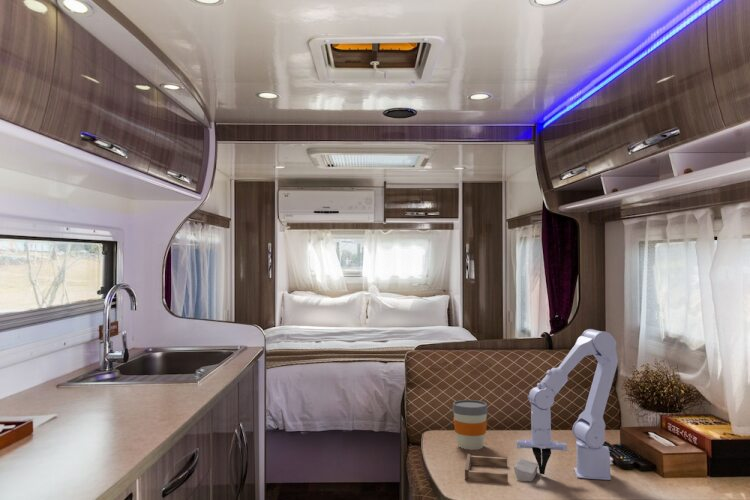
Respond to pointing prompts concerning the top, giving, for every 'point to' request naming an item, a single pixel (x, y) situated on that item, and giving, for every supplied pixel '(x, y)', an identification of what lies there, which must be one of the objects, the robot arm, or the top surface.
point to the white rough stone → (525, 470)
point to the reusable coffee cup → (470, 423)
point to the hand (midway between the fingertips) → (541, 473)
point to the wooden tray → (485, 475)
